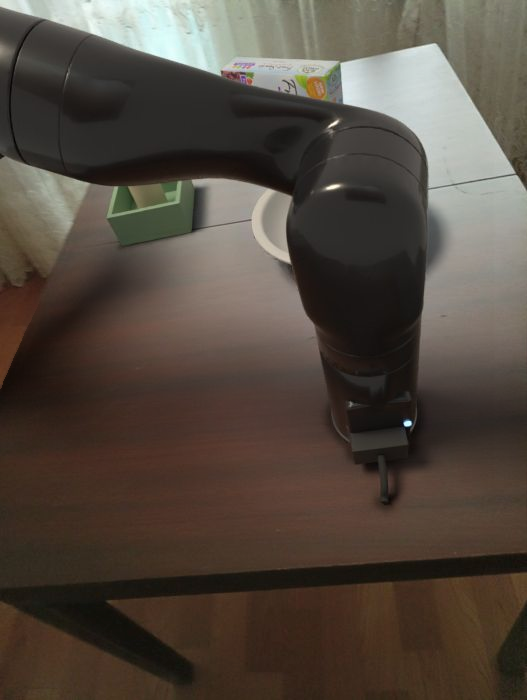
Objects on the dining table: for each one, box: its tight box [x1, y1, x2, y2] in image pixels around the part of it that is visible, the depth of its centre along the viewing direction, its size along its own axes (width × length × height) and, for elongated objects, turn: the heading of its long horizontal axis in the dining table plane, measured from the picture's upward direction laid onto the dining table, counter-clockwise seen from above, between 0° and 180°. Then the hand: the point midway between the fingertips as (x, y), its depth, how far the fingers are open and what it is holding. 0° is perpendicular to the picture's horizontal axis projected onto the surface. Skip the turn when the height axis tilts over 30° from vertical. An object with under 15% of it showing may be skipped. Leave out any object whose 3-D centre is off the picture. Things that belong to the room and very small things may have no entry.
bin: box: [106, 180, 196, 247], centre depth 87 cm, size 13×13×6 cm
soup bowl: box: [251, 188, 292, 266], centre depth 73 cm, size 24×24×7 cm
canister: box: [128, 183, 169, 209], centre depth 84 cm, size 5×5×11 cm
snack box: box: [219, 56, 344, 104], centre depth 88 cm, size 21×6×15 cm, turn 58°
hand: (24, 105), depth 65 cm, fingers open, 8 cm apart
